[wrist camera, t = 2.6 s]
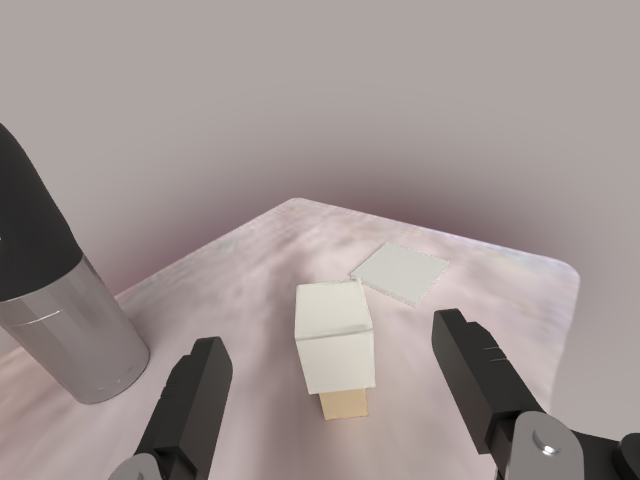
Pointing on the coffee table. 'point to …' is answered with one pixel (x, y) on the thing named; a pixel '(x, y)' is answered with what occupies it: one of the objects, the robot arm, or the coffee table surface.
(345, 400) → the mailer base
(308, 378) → the white rectangular block
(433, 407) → the coffee table surface
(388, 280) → the grey mat
